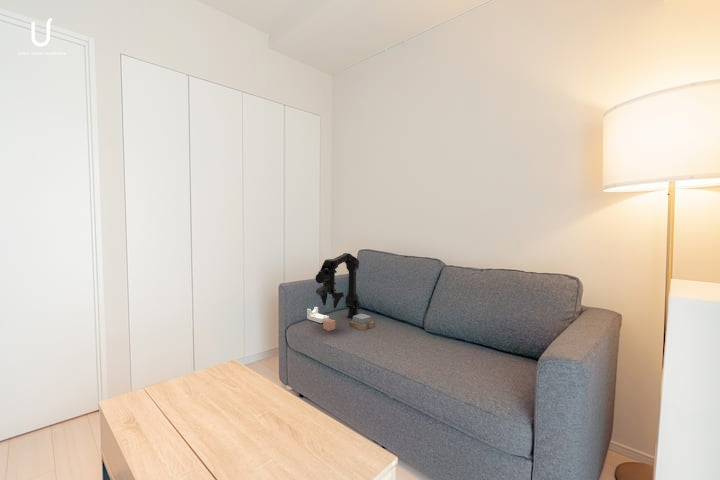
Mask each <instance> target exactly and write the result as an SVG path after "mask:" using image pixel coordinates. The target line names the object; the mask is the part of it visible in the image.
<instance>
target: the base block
mask: <svg viewBox="0 0 720 480" xmlns="http://www.w3.org/2000/svg"><path fill="white" fill-rule="evenodd" d="M375 324H376V322H375V321H373V320H371V322H369V323H367V324H364V325H361V324H358V323H355V322H353V320H351V321H349V324H348V325H349V327H350V328H353V329H356V330H359V331H362V332H363V331H366V330H369V329H371V328H374V327H375V326H376V325H375Z"/></svg>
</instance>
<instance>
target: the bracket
mask: <svg viewBox="0 0 720 480" xmlns="http://www.w3.org/2000/svg"><path fill="white" fill-rule="evenodd" d="M306 319H307V320H309V321H313V322H316V323H319V324H323V321H324V320H328V319H330V316H329V315H326V314H325V315H324V314H321V313H319V307H318V306H314V307H313V310H312V309H311V308H307V309H306Z"/></svg>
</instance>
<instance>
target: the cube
mask: <svg viewBox="0 0 720 480" xmlns="http://www.w3.org/2000/svg"><path fill="white" fill-rule="evenodd" d="M322 324H323V325H322V326H323V328H322V329H323V330H326V331H328V332H330V331H333V330H335V329H336V320H335V319H331V318H329V319H328V320H324V321H323V323H322Z"/></svg>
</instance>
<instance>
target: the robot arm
mask: <svg viewBox="0 0 720 480" xmlns="http://www.w3.org/2000/svg"><path fill="white" fill-rule="evenodd" d="M343 263H344V264H345V266H346V270H347V272H348V294H347V295H346V296H345V295H344V292H343V291H340V290H338V291H337V289H336V288H335V285H337V282H335V281H336V279H335V278H336V277H335V276H336V274H337V273H338V271H337V270H336V269H338V268H339V265H341V264H343ZM359 267H360V260H359V259H358V258H357V257H355V256H354V255H352V254H351V253H349V252H344V253H342V254H340V255H339V256H336V257H334V258H330V259H329V258H327V259H325V260H324V261H323V263H322V266H321V268H320V270H319V271H318V273H317V274H315V279H314V280H315V282H316V283H318V284H322V285H321V286H319V287H318V288H316V292H315V293H316V294H317V295H318V296H319V297H320V299H321V302H322V306H324V307H325V306H326V305H327V304H326V303H327V299H328V295H331V296H332V297H331V299H332V301H333V309H336V308H337V306H338V304H339V302H341V301H340V300H341V299H342V298H344V297H345V301H344V302H345V305H346V306H345V307H346V308H348V314H347V316H346V317H347V318H349V319H353V316H355V315H358V314H359V310H360V309H361V307H362V304H361V302H360V301H359V296H358V294H357V271H358V270H359V269H360V268H359Z"/></svg>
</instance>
